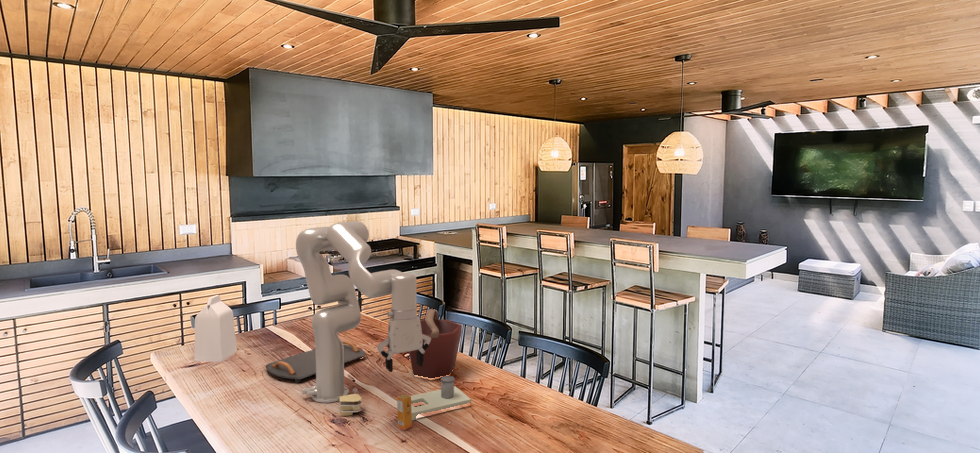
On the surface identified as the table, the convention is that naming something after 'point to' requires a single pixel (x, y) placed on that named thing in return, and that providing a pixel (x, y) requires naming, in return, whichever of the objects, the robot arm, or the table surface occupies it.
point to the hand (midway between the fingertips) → (404, 367)
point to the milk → (214, 332)
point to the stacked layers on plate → (350, 404)
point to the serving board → (308, 363)
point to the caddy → (439, 398)
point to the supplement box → (404, 412)
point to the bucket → (437, 346)
